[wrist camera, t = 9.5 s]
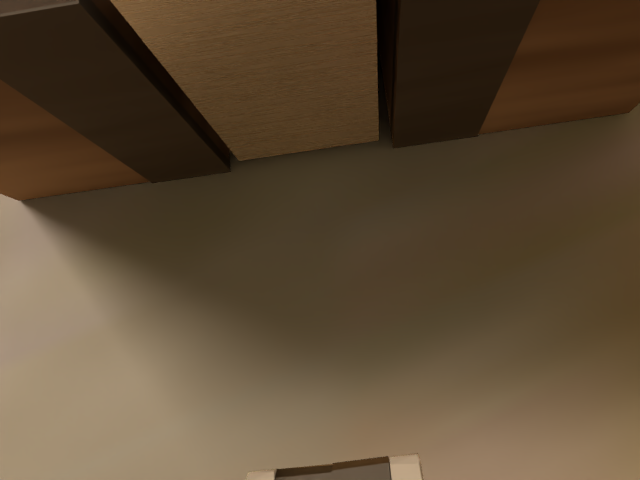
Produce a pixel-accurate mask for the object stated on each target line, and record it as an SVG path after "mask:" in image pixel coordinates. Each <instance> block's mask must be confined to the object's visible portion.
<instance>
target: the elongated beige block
mask: <svg viewBox="0 0 640 480" xmlns="http://www.w3.org/2000/svg"><path fill="white" fill-rule="evenodd" d="M110 1H111V2H112V3H113V4H114V6H115V7H116V8H117V9H118V11H119V12H120V13H121V14H122V16H123V17H124V18H125V19H126V21H127V22H128V23H129V24H130V26H131V27H132V28H133V29H134V31H135V32H136V33H137V34H138V36H139V37H140V38H141V39H142V40H143V42H144V43H145V44H146V45H147V47H148V48H149V49H150V50H151V52H152V53H153V54H154V55H155V57H156V58H157V59H158V60H159V62H160V63H161V64H162V65H163V67H164V68H165V69H166V70H167V72H168V73H169V74H170V75H171V77H172V78H173V79H174V80H175V82H176V83H177V84H178V85H179V87H180V88H181V89H182V90H183V92H184V93H185V94H186V95H187V97H188V98H189V99H190V100H191V102H192V103H193V104H194V105H195V107H196V108H197V109H198V110H199V112H200V113H201V114H202V115H203V117H204V118H205V119H206V120H207V122H208V123H209V124H210V125H211V127H212V128H213V129H214V130H215V131H216V133H217V134H218V135H219V136H220V138H221V139H222V140H223V141H224V143H225V144H226V145H227V146H228V148H229V149H230V150H231V151H232V153H233V154H234V155H235V156H236V158H237V159H238V160H239V161H241V160H248V159H255V158H262V157H268V156H275V155H282V154H289V153H296V152H303V151H310V150H317V149H323V148H330V147H337V146H344V145H351V144H358V143H365V142H372V141H378V140H379V121H378V71H377V22H376V0H110Z"/></svg>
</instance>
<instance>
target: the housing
mask: <svg viewBox="0 0 640 480" xmlns="http://www.w3.org/2000/svg"><path fill="white" fill-rule="evenodd" d="M376 22H377V39H378V46H379V53H380V59H381V66H382V73H383V80H384V87H385V94H386V101H387V108H388V115H389V122H390V129H391V136H392V143H393V148H399V147H406V146H412V145H419V144H426V143H433V142H440V141H447V140H454V139H461V138H468V137H475V136H478V134H484V133H491V132H498V131H505V130H512V129H519V128H525V127H532V126H539V125H546V124H553V123H560V122H567V121H574V120H581V119H588V118H595V117H602V116H609V115H616V114H622V113H629V112H630V111H631V110H632V109H633V108H634V107H635V106H636V105H637V104H639V103H640V0H376ZM225 172H231V168H230V157H229V148H228V146H227V145H226V144H225V143H224V141H223V140H222V139H221V138H220V136H219V135H218V134H217V133H216V131H215V130H214V129H213V128H212V127H211V125H210V124H209V123H208V122H207V120H206V119H205V118H204V117H203V115H202V114H201V113H200V112H199V110H198V109H197V108H196V107H195V105H194V104H193V103H192V102H191V100H190V99H189V98H188V97H187V95H186V94H185V93H184V92H183V90H182V89H181V88H180V87H179V85H178V84H177V83H176V82H175V80H174V79H173V78H172V77H171V75H170V74H169V73H168V72H167V70H166V69H165V68H164V67H163V65H162V64H161V63H160V62H159V60H158V59H157V58H156V57H155V55H154V54H153V53H152V52H151V50H150V49H149V48H148V47H147V45H146V44H145V43H144V42H143V40H142V39H141V38H140V37H139V36H138V34H137V33H136V32H135V31H134V29H133V28H132V27H131V26H130V24H129V23H128V22H127V21H126V19H125V18H124V17H123V16H122V14H121V13H120V12H119V11H118V9H117V8H116V7H115V6H114V4H113V3H112V2H111V1H110V0H0V194H3V195H5V196H8V197H11V198H13V199H16V200H19V201H20V200H27V199H34V198H41V197H47V196H54V195H61V194H68V193H75V192H82V191H89V190H96V189H103V188H110V187H117V186H124V185H131V184H138V183H144V182H152V183H156V182H163V181H170V180H177V179H183V178H190V177H197V176H204V175H211V174H218V173H225Z"/></svg>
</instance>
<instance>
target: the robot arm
mask: <svg viewBox="0 0 640 480" xmlns="http://www.w3.org/2000/svg"><path fill="white" fill-rule="evenodd" d="M389 460H390V462H389ZM246 480H424V479H423V473H422V467H421V461H420V458H419V455H418V453H417V454H409V455H401V456H393V457H388V456H385V457H377V458H369V459H361V460H353V461H345V462H337V463H333V464H325V465H315V466H305V467H295V468H285V469H271V470H262V471H253V472H248V475H247V478H246Z"/></svg>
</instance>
